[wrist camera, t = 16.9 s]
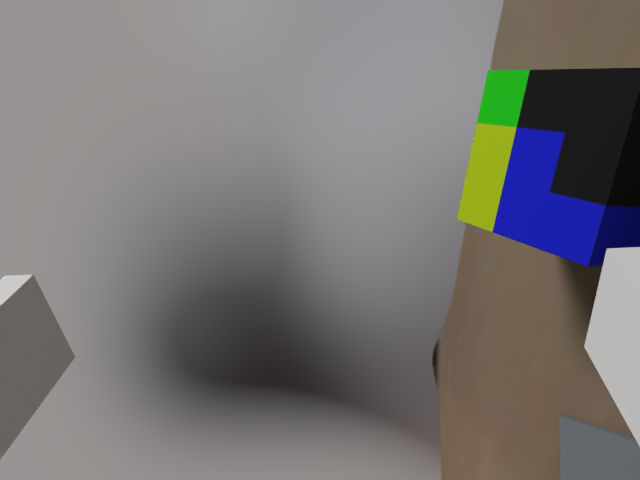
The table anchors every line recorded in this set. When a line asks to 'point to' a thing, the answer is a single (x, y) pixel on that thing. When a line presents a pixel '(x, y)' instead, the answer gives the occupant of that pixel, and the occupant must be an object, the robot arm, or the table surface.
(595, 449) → the slate mat
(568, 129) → the puzzle toy
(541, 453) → the table surface
